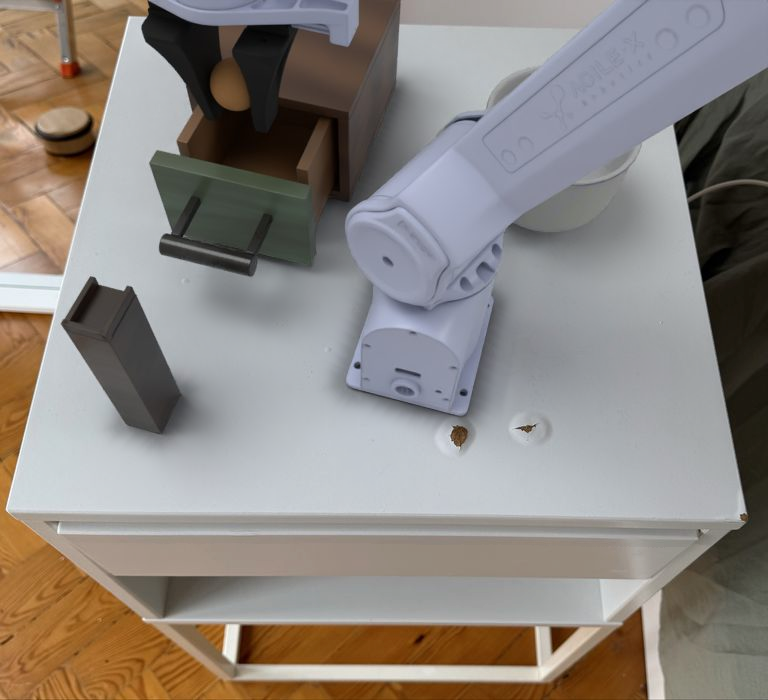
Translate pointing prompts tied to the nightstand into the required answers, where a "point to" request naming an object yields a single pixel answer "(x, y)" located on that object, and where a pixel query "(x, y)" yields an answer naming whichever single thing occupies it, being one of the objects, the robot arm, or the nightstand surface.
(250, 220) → the drawer
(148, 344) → the stand
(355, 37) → the cabinet
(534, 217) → the teacup
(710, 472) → the nightstand surface
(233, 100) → the ball
